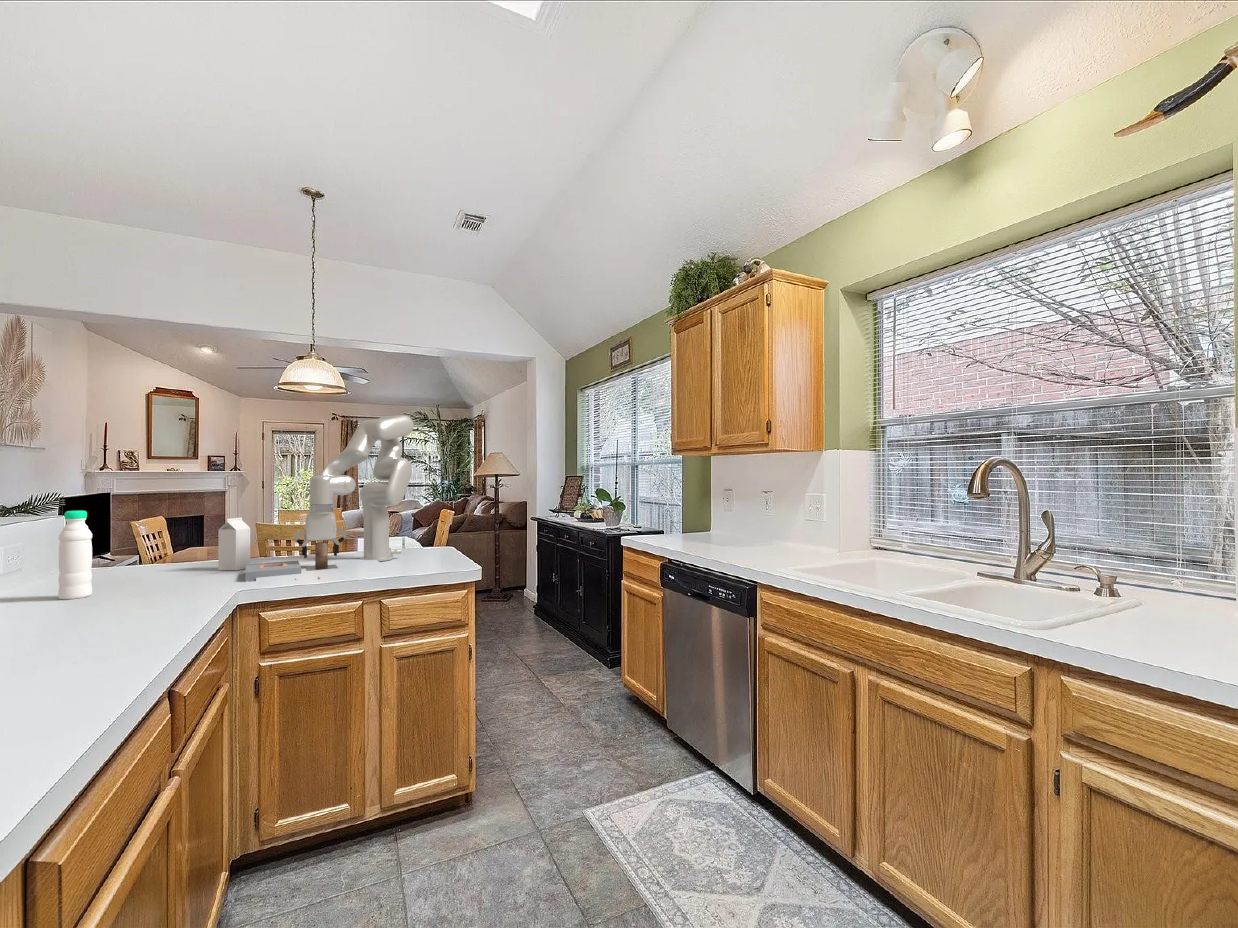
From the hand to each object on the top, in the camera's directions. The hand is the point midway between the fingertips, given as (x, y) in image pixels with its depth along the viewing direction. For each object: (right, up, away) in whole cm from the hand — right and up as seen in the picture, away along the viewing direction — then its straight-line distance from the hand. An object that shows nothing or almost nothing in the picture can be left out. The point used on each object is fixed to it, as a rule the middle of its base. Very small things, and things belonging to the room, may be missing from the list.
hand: (320, 556), depth 206 cm
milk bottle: (-49, -5, -42) cm, 65 cm away
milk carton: (-35, -6, +5) cm, 36 cm away
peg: (0, -4, 0) cm, 4 cm away
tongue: (0, -5, 0) cm, 5 cm away
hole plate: (-13, -5, -8) cm, 16 cm away
